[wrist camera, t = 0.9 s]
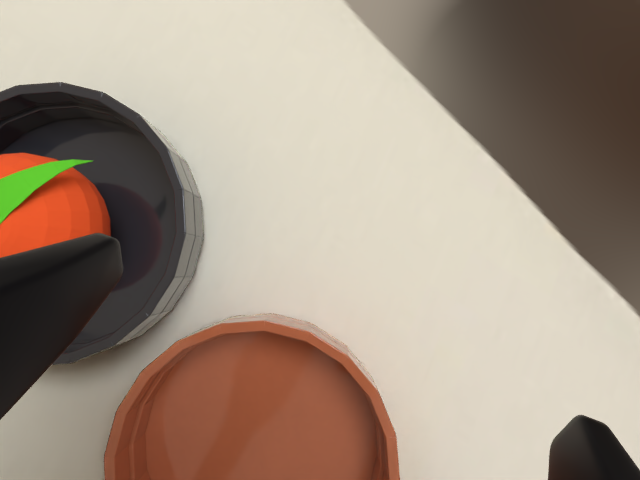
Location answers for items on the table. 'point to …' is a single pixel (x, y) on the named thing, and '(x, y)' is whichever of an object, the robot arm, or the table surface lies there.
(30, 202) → the clementine
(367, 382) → the terracotta bowl
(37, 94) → the charcoal bowl
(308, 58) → the table surface
